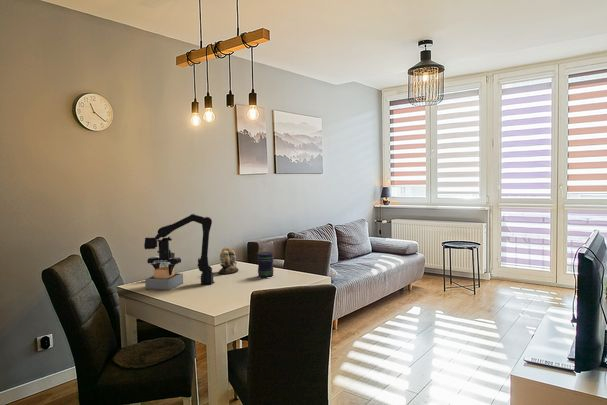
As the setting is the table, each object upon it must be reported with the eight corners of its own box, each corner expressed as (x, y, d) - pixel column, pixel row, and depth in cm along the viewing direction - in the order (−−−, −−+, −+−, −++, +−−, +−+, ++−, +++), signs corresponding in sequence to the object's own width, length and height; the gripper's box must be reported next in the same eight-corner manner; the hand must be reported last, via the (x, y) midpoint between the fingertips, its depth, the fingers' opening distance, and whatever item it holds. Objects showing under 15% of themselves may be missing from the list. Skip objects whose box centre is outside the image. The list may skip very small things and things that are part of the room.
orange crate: (174, 275, 242) (174, 266, 242) (165, 279, 233) (165, 270, 232) (163, 274, 244) (163, 266, 244) (154, 278, 234) (154, 270, 234)
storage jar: (276, 276, 259) (276, 253, 258) (262, 279, 253) (262, 255, 252) (268, 274, 267) (268, 251, 266) (255, 276, 261) (254, 253, 261)
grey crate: (183, 283, 245) (182, 273, 245) (168, 290, 229) (168, 279, 229) (161, 282, 248) (161, 272, 248) (145, 289, 232) (145, 278, 232)
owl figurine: (230, 275, 265) (230, 249, 264) (214, 274, 268) (213, 248, 267) (241, 269, 282) (241, 245, 281) (226, 269, 285) (225, 244, 284)
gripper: (185, 246, 243) (186, 272, 244) (157, 246, 247) (157, 271, 248) (175, 249, 233) (176, 276, 233) (146, 249, 237) (147, 275, 237)
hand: (164, 275), depth 238 cm, fingers closed on orange crate, 7 cm apart
